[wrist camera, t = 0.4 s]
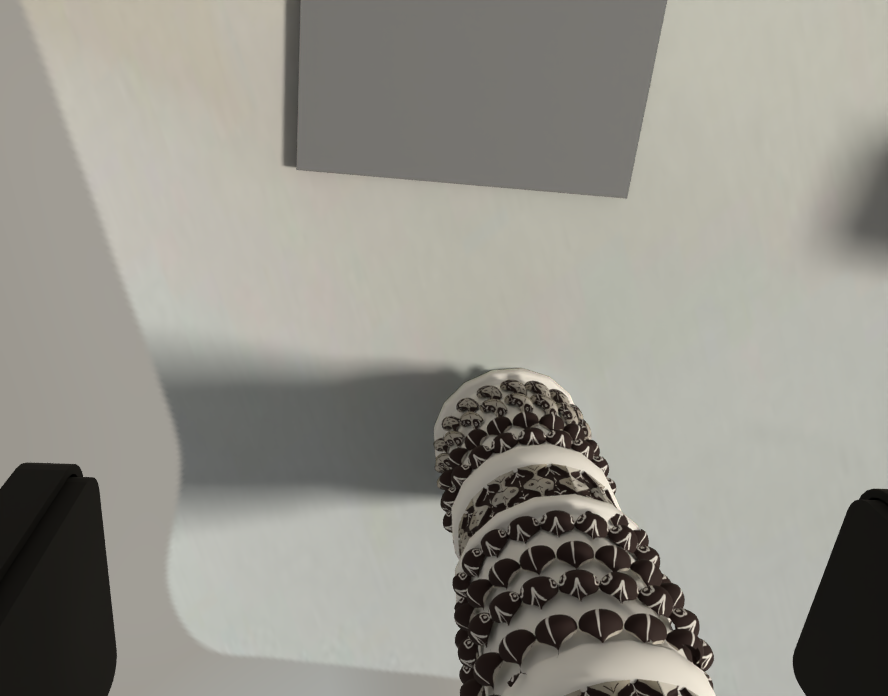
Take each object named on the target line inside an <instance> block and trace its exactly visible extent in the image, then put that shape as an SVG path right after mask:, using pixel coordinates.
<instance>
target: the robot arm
mask: <svg viewBox="0 0 888 696" xmlns="http://www.w3.org/2000/svg"><path fill="white" fill-rule="evenodd" d="M105 549H106V548H105V539H104V530H103V520H102V511H101V502H100V492H99V486H98V482H97V480H96V479H95V478H92V477H83V474H82V471H81V469H80V467H79V466H77V465H76V464H53V463H52V464H51V463H23V464H21V465H20V466H18V467H17V468H16V469H15V471H14V472H13V473H12V474H11V476H10V477H9V478H8V480H7V481H6V482H5V483H4V485H3V486H2V487H1V489H0V696H108V693H109V691H110V688H111V685H112V682H113V678H114V674H115V669H116V659H117V653H116V651H117V650H116V641H115V632H114V622H113V613H112V604H111V594H110V585H109V576H108V566H107V557H106V550H105ZM793 669H794V673H795V677H796V679H797V681H798V683H799V685H800V687H801V688H802V690H803V692H804V693H805V695H806V696H888V489H871V490H867V491H866V492H865V493H864V494H862V495H861V497H860V499H859V500H856V501H854V502H853V503H852V504H851V505H850V507H849V508H848V510H847V513H846V516H845V518H844V521H843V524H842V526H841V529H840V532H839V534H838V537H837V540H836V542H835V545H834V548H833V550H832V553H831V555H830V558H829V561H828V563H827V566H826V569H825V571H824V574H823V577H822V579H821V582H820V585H819V587H818V590H817V593H816V595H815V598H814V601H813V603H812V606H811V608H810V611H809V614H808V616H807V619H806V622H805V624H804V627H803V630H802V632H801V635H800V638H799V640H798V643H797V646H796V648H795V651H794V655H793Z"/></svg>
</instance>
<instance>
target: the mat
mask: <svg viewBox="0 0 888 696" xmlns="http://www.w3.org/2000/svg"><path fill="white" fill-rule="evenodd" d="M666 4H667V0H301V2H300V43H299V85H298V126H297V168H296V170H304V171H316V172H327V173H339V174H350V175H362V176H373V177H385V178H397V179H408V180H420V181H431V182H443V183H454V184H466V185H477V186H489V187H501V188H512V189H524V190H535V191H547V192H558V193H570V194H581V195H593V196H604V197H616V198H627V196H628V191H629V186H630V181H631V176H632V171H633V166H634V161H635V156H636V151H637V147H638V142H639V137H640V132H641V127H642V122H643V117H644V112H645V107H646V102H647V97H648V92H649V88H650V83H651V78H652V73H653V68H654V63H655V58H656V53H657V48H658V43H659V38H660V33H661V28H662V24H663V19H664V14H665V9H666Z"/></svg>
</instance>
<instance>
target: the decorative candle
mask: <svg viewBox="0 0 888 696" xmlns="http://www.w3.org/2000/svg"><path fill="white" fill-rule="evenodd" d="M434 448H435V456H436V464H435V470H436V471H437V472H440V473H442V475H441V476H440V477H439V478H438V480H437V486H438V488H440V489H443V490H445V492H444V493H443V495H442V498H441V508H442V509H443V510H444V511H446V512H447V513H446V514H445V516H444V518H443V526H444V528H445V529H446V530H447V531H449V532H451V533H452V534H453V543H454V548H455V553H456V555H457V557H458V558H459V562H458V564H457V566H456V568H455V577H454V578H453V589H454V591H455V592H456V605H455V608H454V609H455V613H454V619H455V622H456V624H457V625H458V627H459V628H461V629H460V630H459V631H458V632H457V634H456V637H455V644H456V646H457V648H458V657H459V660H460V662H461V663H462V664H463V666H462V668H461V670H460V674H459V677H460V679H461V681H462V683H463V685H462V686H461V689H460V696H716V695H715V693H714V691H713V683H712V680H711V678H710V676H709V675H708V674H707V673H706V672H705V671H706V670H708V669H709V668H710V666H711V665H712V663H713V661H714V655H713V652H712V650H711V648H710V646H709V645H708V644H707V643H706V642H705V641H704V640H702V639H700V638H698V633H699V626H700V625H699V621H698V618H697V616H696V615H695V614H693V613H692V612H690V611H688V610H686V609H683V606H684V601H685V599H684V595H683V592H682V590H681V588H680V587H679V586H678V585H676V584H673V583H671V581H670V580H669V579H668V577H667V576H665V575H664V574H662V573H661V571H660V569H659V567H660V557H659V554H658V553H657V551H656V550H655V549H653V548H651V547H648V544H649V540H648V536H647V534H646V532H645V531H644V530H642V529H641V531H640V529H639V527H638V525H637V524H636V523H634V522H633V521H632V520H631V519H629V518H628V517H627V516H626V515H625V514H623V513H622V512H621V509H620V507H619V505H618V502H617V500H616V498H615V496H614V495H615V492H616V484H615V482H614V481H613V480H612V479H610V478H607V475H608V473H609V466H608V463H607V461H606V460H605V459H604V458H603V457H601V456H599V454H600V450H599V446H598V445H597V443H596V442H595V441H593V440H591V430H590V427H589V425H588V424H587V423H586V421H585V420H583V415H582V412H581V411H580V409H579V408H578V407H577V406H576V405H574V403H573V401H572V398H571V396H570V394H569V393H568V392H567V391H566V390H564V389H563V388H562V387H561V386H560V385H559V384H557V383H556V382H555V381H554V380H553V379H552V378H550V377H549V376H546V375H543V374H539V373H536V372H533V371H530V370H526V369H523V368H517V369H503V370H491V371H489V372H487V373H485V374H483V375H480V376H478V377H476V378H474V379H471V380H469V381H467V382H465V383H464V384H463V385H462V386H461V387H460V388H459V389H458V390H457V391H456V392H454V393H453V394H452V395H451V396H450V397H449V398H448V399H447V400H446V401H445V402H444V404H443V407H442V409H441V411H440V414H439V416H438V419H437V421H436V423H435V426H434ZM672 622H673V623H674V624H675V629H676V630H673V629H672V627H671V623H672Z"/></svg>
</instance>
